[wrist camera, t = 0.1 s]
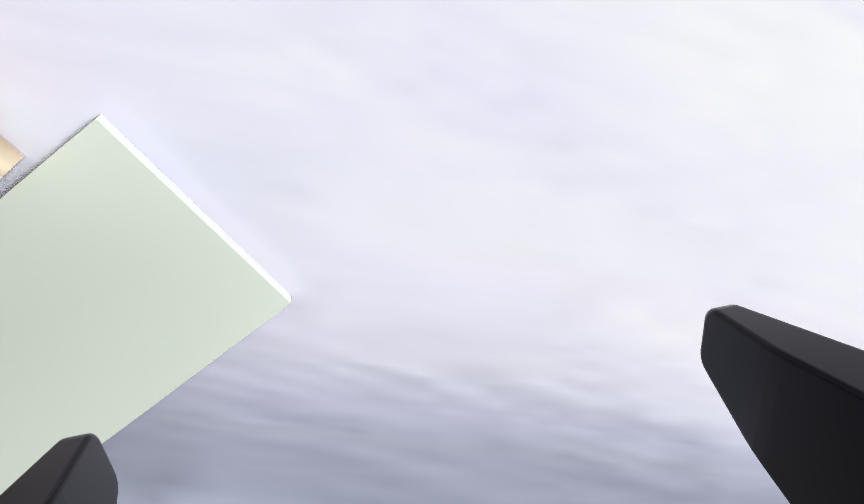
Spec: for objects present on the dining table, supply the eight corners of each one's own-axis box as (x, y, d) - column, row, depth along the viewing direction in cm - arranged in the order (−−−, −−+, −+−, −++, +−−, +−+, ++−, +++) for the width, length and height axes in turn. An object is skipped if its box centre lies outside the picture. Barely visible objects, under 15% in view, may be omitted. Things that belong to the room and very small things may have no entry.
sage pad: (290, 295, 25) (290, 303, 24) (-7, 516, 27) (-13, 528, 26) (100, 114, 21) (96, 119, 20) (-235, 393, 23) (-247, 404, 22)
